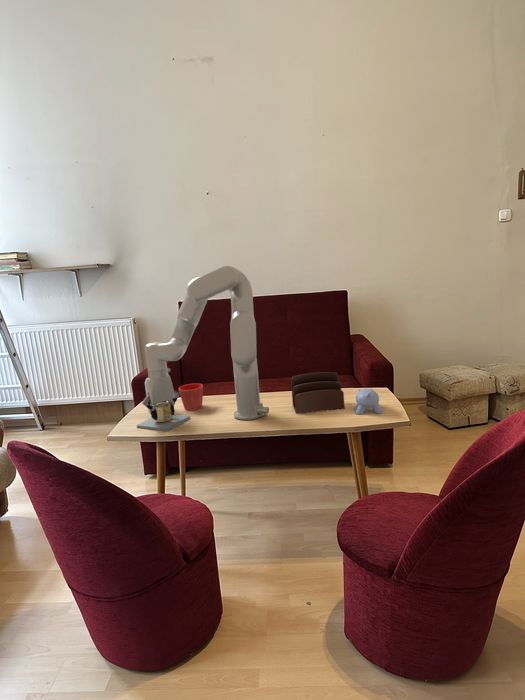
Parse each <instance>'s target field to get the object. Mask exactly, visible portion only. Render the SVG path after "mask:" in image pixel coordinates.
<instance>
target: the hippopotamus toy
mask: <svg viewBox="0 0 525 700" xmlns="http://www.w3.org/2000/svg"><path fill="white" fill-rule="evenodd" d="M355 402H356V404H355V406H354V408H353V411H354V410H355V411H354V413H355V415H363V414H364V413H365V411H366V410H367V409H370V408H371V409H372V410H373V412H374V413H375V414H383V413H384V410H383V409H382V407H381V405H380V396H379V394H378V393H377V392H376V391H375V390H374V389H373V388H362V389H358V391H357V393H356V394H355Z"/></svg>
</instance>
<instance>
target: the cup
mask: <svg viewBox="0 0 525 700" xmlns="http://www.w3.org/2000/svg"><path fill="white" fill-rule="evenodd" d="M161 403H166V406H163V407H158V404H159V403H157V404H156V407H155V410H156V411H157V420H155V421H156V422H165V421H169V420H171V419H172V418H173V416H172V408H171V403H169V402H168V401H167V402H161Z"/></svg>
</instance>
